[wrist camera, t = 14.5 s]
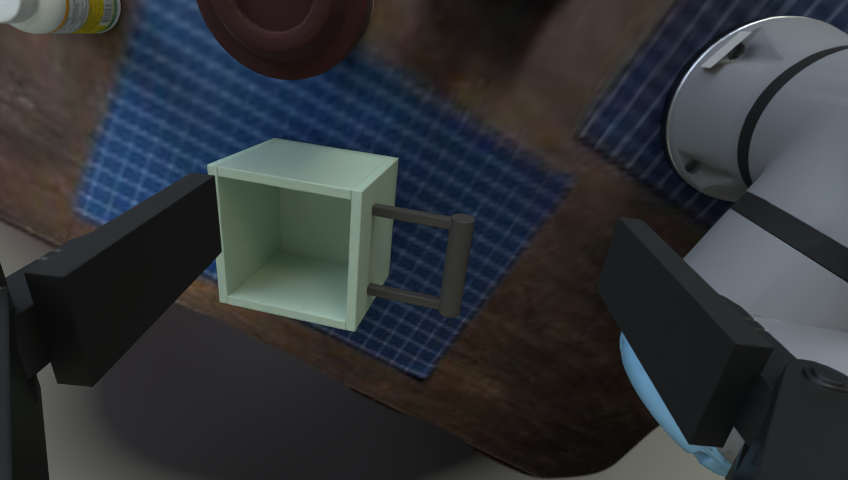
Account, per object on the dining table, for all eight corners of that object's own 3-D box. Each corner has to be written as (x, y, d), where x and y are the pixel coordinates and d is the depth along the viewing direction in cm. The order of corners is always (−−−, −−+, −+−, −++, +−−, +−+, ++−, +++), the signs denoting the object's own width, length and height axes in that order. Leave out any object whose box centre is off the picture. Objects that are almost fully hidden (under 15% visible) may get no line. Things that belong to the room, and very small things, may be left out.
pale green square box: (487, 172, 40) (474, 211, 31) (467, 290, 45) (451, 353, 36) (274, 137, 43) (206, 164, 34) (277, 252, 48) (219, 302, 39)
